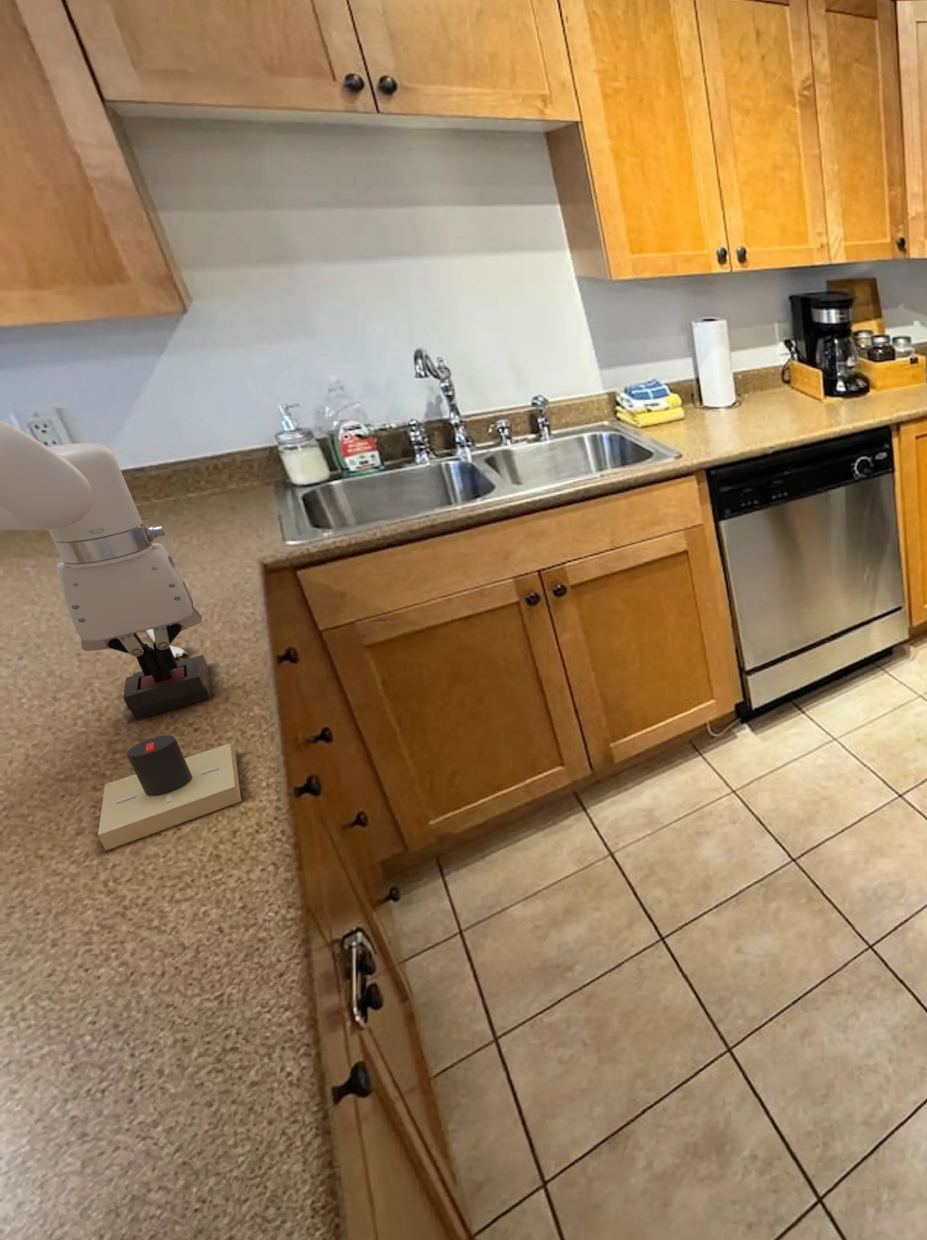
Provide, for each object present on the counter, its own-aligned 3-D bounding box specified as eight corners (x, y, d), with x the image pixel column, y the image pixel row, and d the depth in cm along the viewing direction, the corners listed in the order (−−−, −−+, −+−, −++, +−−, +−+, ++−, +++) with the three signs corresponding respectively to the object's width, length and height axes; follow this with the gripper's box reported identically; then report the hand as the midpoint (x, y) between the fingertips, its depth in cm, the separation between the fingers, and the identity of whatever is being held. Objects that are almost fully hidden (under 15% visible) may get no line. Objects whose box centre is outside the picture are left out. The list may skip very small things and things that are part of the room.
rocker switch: (138, 685, 106) (127, 660, 104) (208, 666, 110) (197, 642, 109) (135, 725, 96) (122, 697, 95) (211, 702, 101) (199, 676, 100)
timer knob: (145, 785, 82) (125, 743, 80) (192, 769, 84) (173, 728, 82) (144, 800, 79) (124, 758, 78) (192, 784, 82) (173, 742, 80)
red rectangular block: (146, 689, 100) (141, 677, 100) (188, 677, 103) (183, 665, 102) (145, 700, 98) (140, 688, 97) (188, 688, 100) (183, 676, 100)
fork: (162, 626, 123) (157, 615, 122) (193, 661, 112) (188, 649, 111) (133, 634, 120) (128, 623, 120) (162, 670, 109) (157, 659, 109)
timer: (112, 799, 83) (104, 782, 82) (236, 757, 90) (229, 741, 89) (105, 851, 76) (96, 833, 75) (241, 801, 82) (234, 785, 81)
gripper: (189, 522, 101) (239, 645, 107) (16, 555, 91) (82, 688, 98) (190, 536, 96) (242, 664, 102) (7, 572, 86) (77, 711, 93)
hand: (164, 676), depth 100 cm, fingers closed
